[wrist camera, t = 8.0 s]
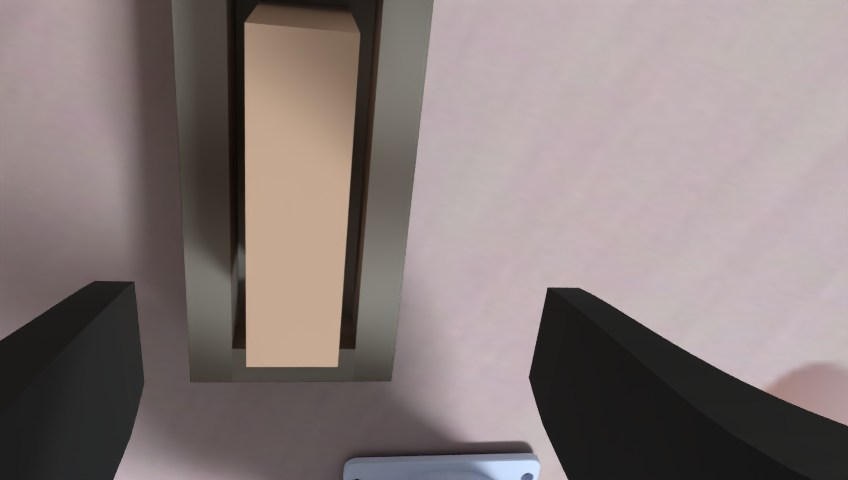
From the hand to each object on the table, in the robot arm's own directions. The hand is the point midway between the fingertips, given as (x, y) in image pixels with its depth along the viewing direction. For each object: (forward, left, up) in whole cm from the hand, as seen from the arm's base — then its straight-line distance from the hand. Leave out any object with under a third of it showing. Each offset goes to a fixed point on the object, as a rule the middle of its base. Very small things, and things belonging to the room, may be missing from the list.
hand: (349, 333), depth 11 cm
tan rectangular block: (+1, +1, -8) cm, 9 cm away
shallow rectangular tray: (0, +1, -10) cm, 10 cm away
